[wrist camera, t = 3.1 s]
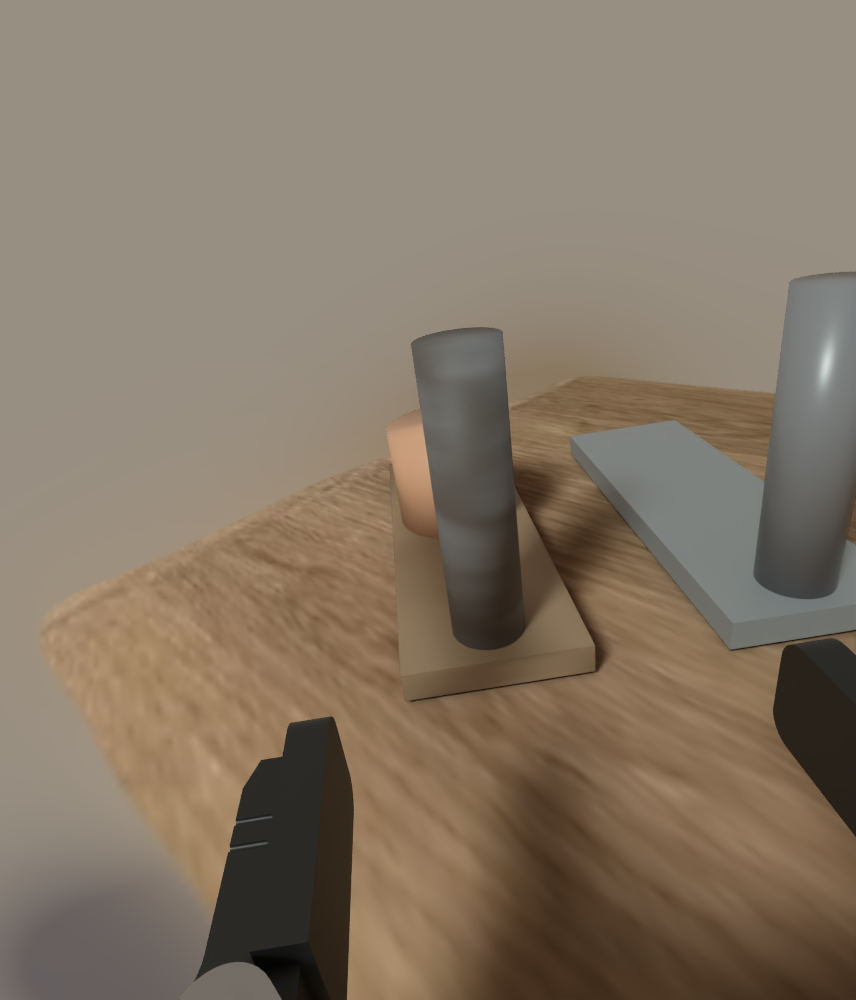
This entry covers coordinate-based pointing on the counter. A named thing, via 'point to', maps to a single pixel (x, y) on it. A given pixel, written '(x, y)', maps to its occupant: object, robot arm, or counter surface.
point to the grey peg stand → (756, 489)
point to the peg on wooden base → (476, 541)
